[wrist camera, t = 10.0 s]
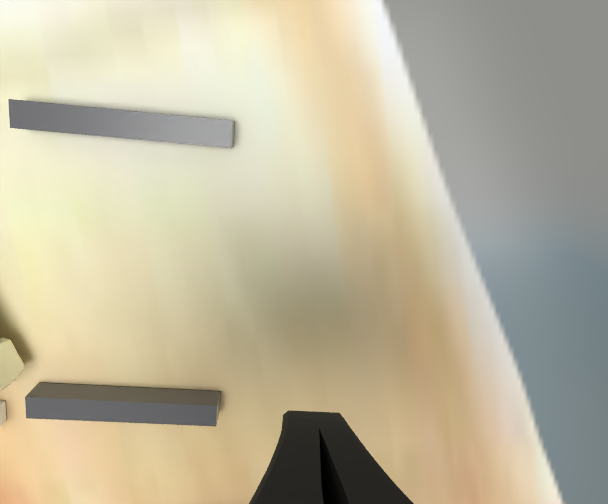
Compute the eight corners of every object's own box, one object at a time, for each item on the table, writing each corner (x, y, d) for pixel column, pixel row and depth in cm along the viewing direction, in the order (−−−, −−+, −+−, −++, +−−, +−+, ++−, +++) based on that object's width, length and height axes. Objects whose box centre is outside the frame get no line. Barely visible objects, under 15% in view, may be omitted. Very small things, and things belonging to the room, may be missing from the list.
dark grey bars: (219, 410, 22) (216, 426, 21) (40, 402, 21) (26, 418, 20) (234, 121, 19) (232, 120, 17) (25, 101, 18) (8, 99, 17)
